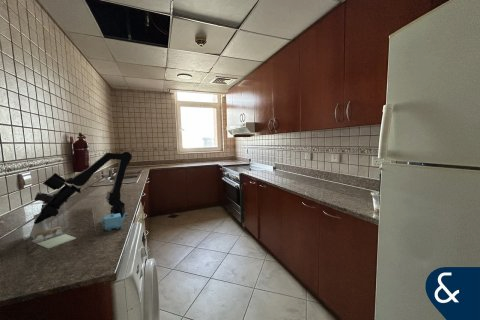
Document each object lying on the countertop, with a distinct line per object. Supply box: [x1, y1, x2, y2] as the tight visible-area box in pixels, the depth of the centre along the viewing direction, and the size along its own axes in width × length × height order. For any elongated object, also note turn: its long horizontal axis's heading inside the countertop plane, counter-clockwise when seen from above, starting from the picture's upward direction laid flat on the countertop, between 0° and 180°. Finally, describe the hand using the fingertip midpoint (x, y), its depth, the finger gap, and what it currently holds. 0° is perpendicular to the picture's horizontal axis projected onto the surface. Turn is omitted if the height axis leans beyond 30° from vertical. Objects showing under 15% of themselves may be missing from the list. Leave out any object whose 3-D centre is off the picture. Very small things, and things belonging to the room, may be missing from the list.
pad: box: [36, 233, 77, 250], centre depth 91 cm, size 10×10×1 cm
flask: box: [29, 213, 50, 239], centre depth 98 cm, size 7×7×10 cm
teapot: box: [100, 212, 128, 232], centre depth 104 cm, size 12×6×8 cm, turn 125°
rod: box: [34, 225, 62, 237], centre depth 94 cm, size 9×2×2 cm, turn 153°
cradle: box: [31, 228, 65, 244], centre depth 94 cm, size 10×4×3 cm, turn 153°
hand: (35, 222), depth 97 cm, fingers open, 4 cm apart
